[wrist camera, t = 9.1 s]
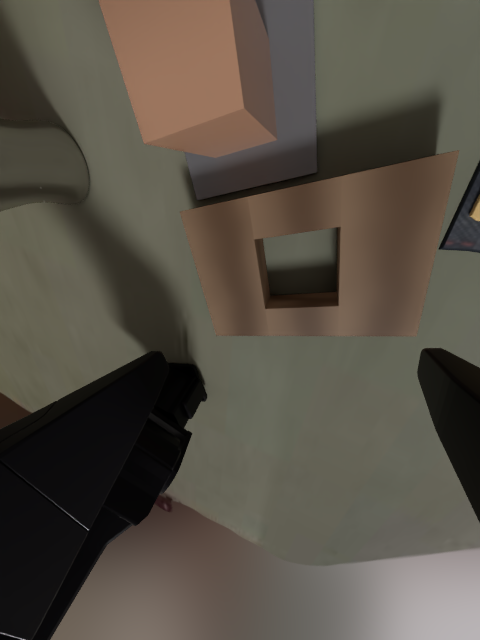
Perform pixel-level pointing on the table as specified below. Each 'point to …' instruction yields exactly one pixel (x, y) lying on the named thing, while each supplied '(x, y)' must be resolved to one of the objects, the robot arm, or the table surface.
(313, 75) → the pad
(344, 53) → the table surface
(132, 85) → the block
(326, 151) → the table surface
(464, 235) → the dark blue flat slab
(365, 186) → the pocket board
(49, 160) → the beer glass
